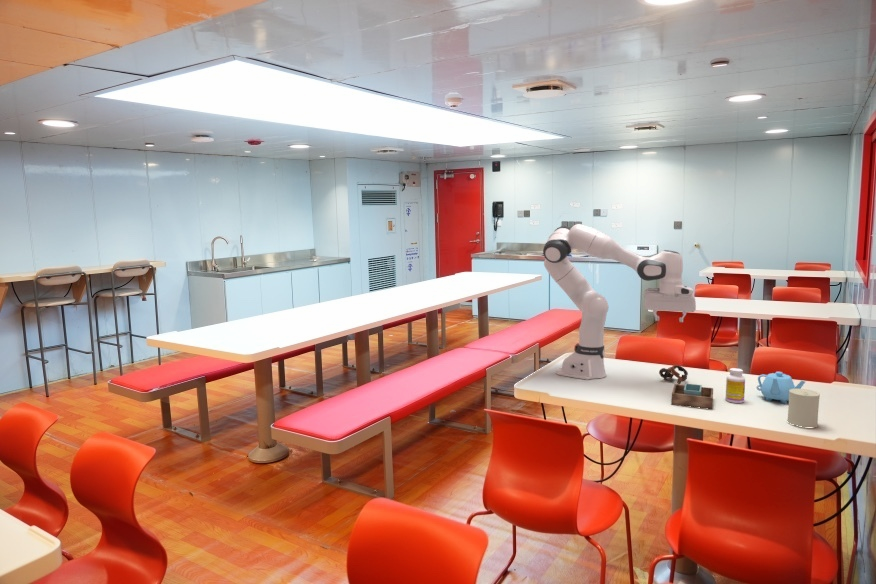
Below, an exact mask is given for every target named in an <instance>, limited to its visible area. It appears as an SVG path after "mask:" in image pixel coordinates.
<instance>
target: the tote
mask: <svg viewBox="0 0 876 584" xmlns="http://www.w3.org/2000/svg"><path fill="white" fill-rule="evenodd" d="M684 385H685V388H684V394H686V395H694V396H701V389H702V387H703V385H702V384H697V383H696V384H693V383H685V384H684Z"/></svg>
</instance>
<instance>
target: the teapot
mask: <svg viewBox="0 0 876 584" xmlns="http://www.w3.org/2000/svg"><path fill="white" fill-rule="evenodd" d="M762 377H765V378H764V379H763V381H762V382H761V378H762ZM757 381H758V384H759V385H757V386H756V389H757V391H759V392H760V391H761V394H762V396H763V397H764V398H765V399H764V400H765V401H766V400H768V402H770V401H771V402H772V400H777V401H780V404H784V403H787V404H788V402H789V390H790V389H802V387H803V386H804V384H806V381H805V380H800V382H798V384H797V385H795V384H794V380H793V378H792V376H790V375H789V374H786V373H783V371H775V373H774V372H772V373H768V374H763V373H762V374H760V375H759V376H758V377H757Z"/></svg>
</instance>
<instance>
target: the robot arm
mask: <svg viewBox="0 0 876 584" xmlns="http://www.w3.org/2000/svg"><path fill="white" fill-rule="evenodd" d="M574 250H579V251H580V252H583V253H584V254H587V255H589V256H592V257H594V258H597V259H601V260H614V261H616V262H619V263H621V264H623V265H625V266H628V268H629V267H630V268H632V269H633V270H634V271H635V272H636V274H637V275H638V277H639V278H640V279H642V281H644V282H645V281H647V282H652V281H655V280H659V283H658V284H659V286H658V288H652V287H648V288H646V289H645V290H644V292H643V297H644V298H645V299H644V305H643V309H645V310H646V311H647V310H648V311H649V310H651V311H652V314H653V315H654V317H655V318H654V319H655V321H656V322H660V316H659V315H657V312H658V311H661V312H662V311H667V312H682V317H679V318H678V320H679V321H678V322H679V323H684V318H685V317H686V315H687V313H695V311H696V309H697V304H696V303H697V302H696V297H695V295H694V294H693V293H694V289H693V288H692V287H690V286H687V285H684V284H683V280H682V274H683V266H684V265H683V256H682V254H681V253H679V252H678V251H674V250H668V249H664V250H662V251H660V252H659V253H657V254H654V255H653V256H650V255H640V254H638V253H635V252H633V251H631V250H629V249H626V248H624V247H622V246H621V245H620V244H619V243H617V242H616V241H615V240H614V239H613V238H612V237H610V236H609V235H608V234H606V233H604V232H603V231H600V230H598V229H597V228H594V227H592V226H587V225H585V224H581V223H576V224H574V225H573V226H572V227H570V226H568V225H562V226H559V227H557V228H556V229H555V230H554V231H553V232H552V233H551V234H550V235H549V237H548V239H547V241H546V242H545V243H544V245H543V250H542V254H543V258H545V259H544V262H543V265H544V267H545V269H546V271H547V272H548V274H549V275H550V277H551V278H552V279H553V280H554V282H555V283H556V284H557V285H558V287H560V288H561V289H562V291H564V293H565V294H566V295H567V296H568V297H569V299H570V300H571V301H572V303H573V304H574V306H576V307H577V308H578V309H579V311H581V320H580V325H579V328H578V329H579V330H578V342H577V343H575V345H574V348H573V349H574V352H573V353H571V354H569V355H568V356H567V357H565V358H564V359H563V361H562V363H561V367H560V368H558V369H557V370H556V374H557V375H559V376H563V377H568V378H569V377H570V378H574V379H575V378H576V379H580V380H585V381H586V380H595V379H603V378H605V377H607V373H606V368H605V361H604V359H605V358H604V357H605V345H604V341H605V340H604V334H605V333H604V332H605V331H604V330H605V325H606V320H607V313H608V311H609V303H608V301H607V299H606V298H605V296H603V295H601V294H599V293H598V292H596V290H595V289H594V288H593V286H591V285H590V283H589V282H588V280H587V278H585V276H584V275H583V274H582V273H581V271H579V269H577V267H576V266H575V265H574V264H573V263H572V262H571V261H570V260H569V258H568V256H569V255H570V254H571V253H572V251H574Z"/></svg>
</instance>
